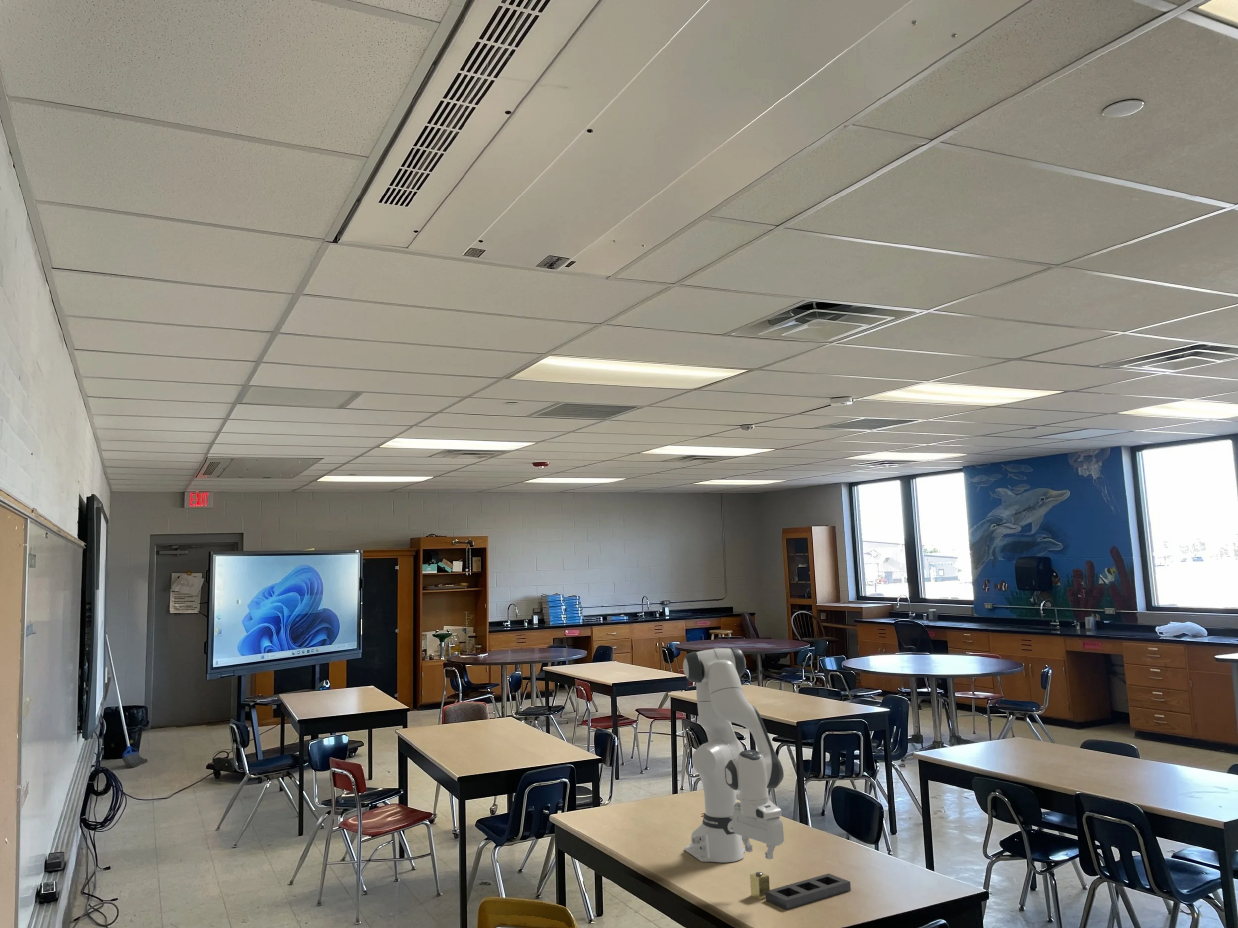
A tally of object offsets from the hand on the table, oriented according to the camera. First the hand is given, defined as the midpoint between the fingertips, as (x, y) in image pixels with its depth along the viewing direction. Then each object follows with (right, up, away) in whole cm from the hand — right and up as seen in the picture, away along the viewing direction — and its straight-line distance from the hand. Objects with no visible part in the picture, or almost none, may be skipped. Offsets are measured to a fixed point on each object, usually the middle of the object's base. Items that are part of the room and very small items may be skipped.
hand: (759, 854), depth 249 cm
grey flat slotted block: (+15, -11, -2) cm, 19 cm away
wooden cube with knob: (0, -12, -1) cm, 12 cm away
